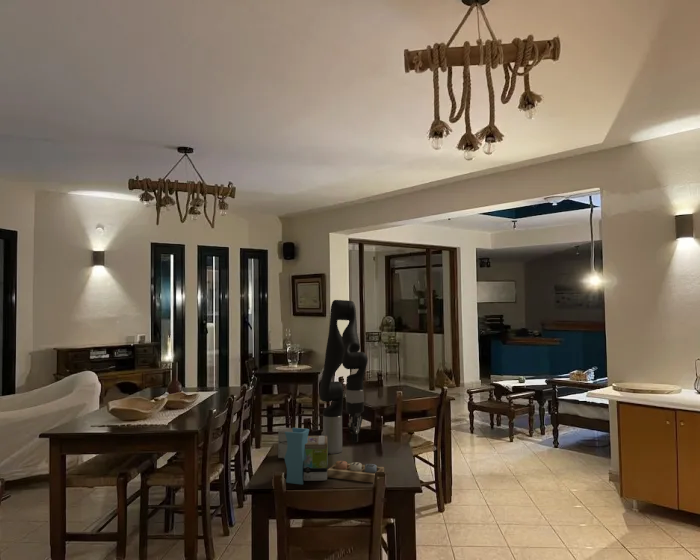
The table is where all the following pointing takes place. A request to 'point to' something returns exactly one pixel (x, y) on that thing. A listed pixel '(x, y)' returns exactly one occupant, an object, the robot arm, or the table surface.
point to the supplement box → (282, 442)
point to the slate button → (370, 468)
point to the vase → (296, 454)
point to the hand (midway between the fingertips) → (355, 442)
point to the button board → (352, 473)
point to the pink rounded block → (341, 465)
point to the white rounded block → (355, 466)
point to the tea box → (316, 459)
